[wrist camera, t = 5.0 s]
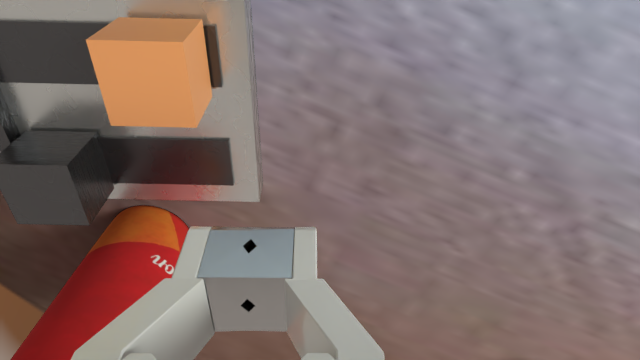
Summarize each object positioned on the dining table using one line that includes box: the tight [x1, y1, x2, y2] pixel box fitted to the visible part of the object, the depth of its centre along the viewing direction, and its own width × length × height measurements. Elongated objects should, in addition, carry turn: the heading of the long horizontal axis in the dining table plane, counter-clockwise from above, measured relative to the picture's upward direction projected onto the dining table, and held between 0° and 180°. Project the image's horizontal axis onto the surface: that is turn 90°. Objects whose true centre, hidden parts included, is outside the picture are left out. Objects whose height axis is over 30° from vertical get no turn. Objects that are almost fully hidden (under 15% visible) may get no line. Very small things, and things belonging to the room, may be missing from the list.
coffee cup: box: [11, 205, 189, 360], centre depth 26 cm, size 8×8×15 cm
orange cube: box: [86, 17, 212, 128], centre depth 20 cm, size 4×4×4 cm
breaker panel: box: [0, 0, 263, 225], centre depth 23 cm, size 13×16×6 cm
